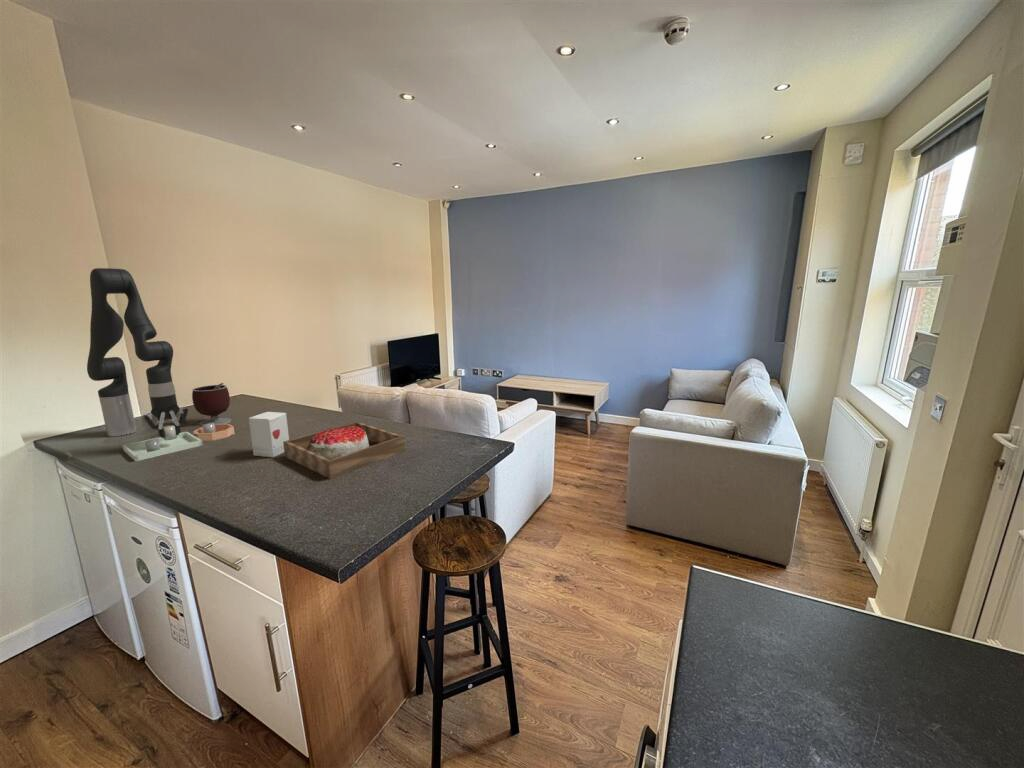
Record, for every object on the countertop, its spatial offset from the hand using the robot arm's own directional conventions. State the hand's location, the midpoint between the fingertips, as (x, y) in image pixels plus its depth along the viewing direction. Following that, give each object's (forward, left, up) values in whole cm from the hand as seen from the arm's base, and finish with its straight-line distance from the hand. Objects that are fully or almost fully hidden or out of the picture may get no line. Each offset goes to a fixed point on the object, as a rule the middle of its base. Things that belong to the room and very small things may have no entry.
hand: (170, 436), depth 156 cm
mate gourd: (-24, +23, -5) cm, 33 cm away
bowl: (-1, +15, -5) cm, 15 cm away
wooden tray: (+60, +38, -5) cm, 71 cm away
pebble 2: (0, 0, -1) cm, 1 cm away
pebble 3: (-2, +13, -4) cm, 14 cm away
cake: (+57, +35, -6) cm, 67 cm away
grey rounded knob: (+5, -6, -4) cm, 9 cm away
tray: (0, -2, -5) cm, 6 cm away
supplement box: (+36, +22, -5) cm, 43 cm away
